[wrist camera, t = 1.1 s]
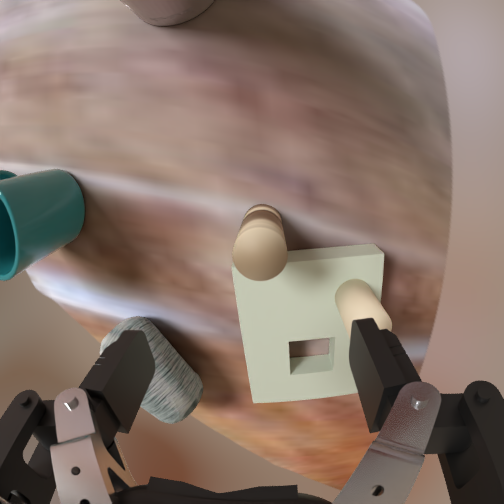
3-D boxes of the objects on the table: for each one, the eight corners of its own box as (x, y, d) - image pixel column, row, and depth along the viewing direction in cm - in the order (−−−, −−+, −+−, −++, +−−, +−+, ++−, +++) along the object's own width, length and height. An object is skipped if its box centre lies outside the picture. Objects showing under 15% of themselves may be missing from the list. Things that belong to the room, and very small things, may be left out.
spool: (231, 398, 31) (173, 450, 23) (185, 392, 37) (134, 430, 29) (180, 296, 30) (103, 335, 23) (142, 307, 36) (80, 337, 29)
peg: (241, 206, 27) (228, 231, 18) (279, 202, 27) (285, 226, 18) (245, 242, 28) (236, 283, 20) (283, 239, 28) (289, 278, 19)
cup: (43, 137, 25) (-27, 144, 14) (100, 204, 28) (30, 234, 17) (15, 193, 27) (-47, 215, 17) (66, 257, 30) (6, 299, 19)
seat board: (235, 255, 29) (221, 299, 20) (373, 243, 27) (411, 281, 19) (254, 386, 34) (250, 441, 26) (361, 375, 33) (378, 427, 25)
